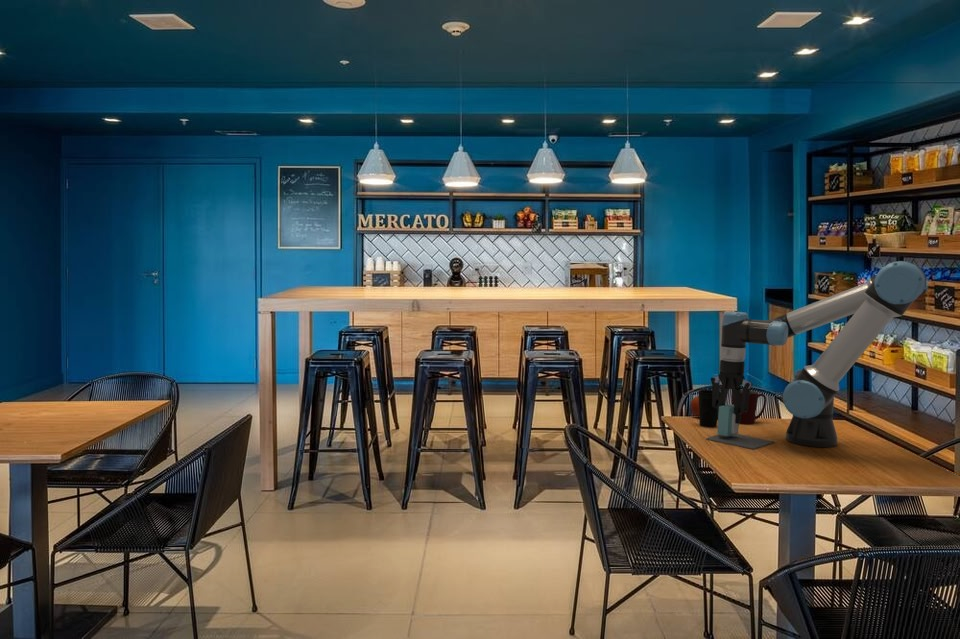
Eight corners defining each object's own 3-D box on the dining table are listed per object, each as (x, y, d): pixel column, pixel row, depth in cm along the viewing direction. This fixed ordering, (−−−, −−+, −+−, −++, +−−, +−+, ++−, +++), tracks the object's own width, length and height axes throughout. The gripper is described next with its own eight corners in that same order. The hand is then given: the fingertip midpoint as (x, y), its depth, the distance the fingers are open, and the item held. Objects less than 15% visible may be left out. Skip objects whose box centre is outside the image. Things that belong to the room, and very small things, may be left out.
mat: (727, 433, 245) (727, 432, 245) (774, 442, 233) (774, 441, 233) (706, 439, 235) (706, 438, 235) (753, 449, 223) (753, 448, 223)
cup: (721, 425, 257) (723, 391, 256) (717, 429, 250) (719, 394, 249) (698, 422, 260) (700, 389, 259) (694, 426, 254) (696, 392, 253)
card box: (716, 434, 236) (718, 406, 235) (727, 431, 240) (729, 404, 240) (727, 436, 233) (729, 408, 232) (738, 433, 238) (739, 406, 237)
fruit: (720, 415, 273) (721, 394, 272) (720, 421, 263) (721, 399, 262) (690, 413, 276) (691, 392, 275) (689, 419, 266) (690, 397, 265)
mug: (760, 420, 267) (761, 390, 266) (769, 425, 258) (770, 394, 257) (726, 419, 267) (728, 389, 266) (734, 424, 258) (736, 393, 257)
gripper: (702, 357, 238) (698, 428, 240) (751, 364, 226) (747, 438, 228) (714, 356, 243) (710, 425, 245) (763, 362, 231) (758, 435, 233)
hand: (728, 431), depth 237 cm, fingers closed on card box, 4 cm apart
